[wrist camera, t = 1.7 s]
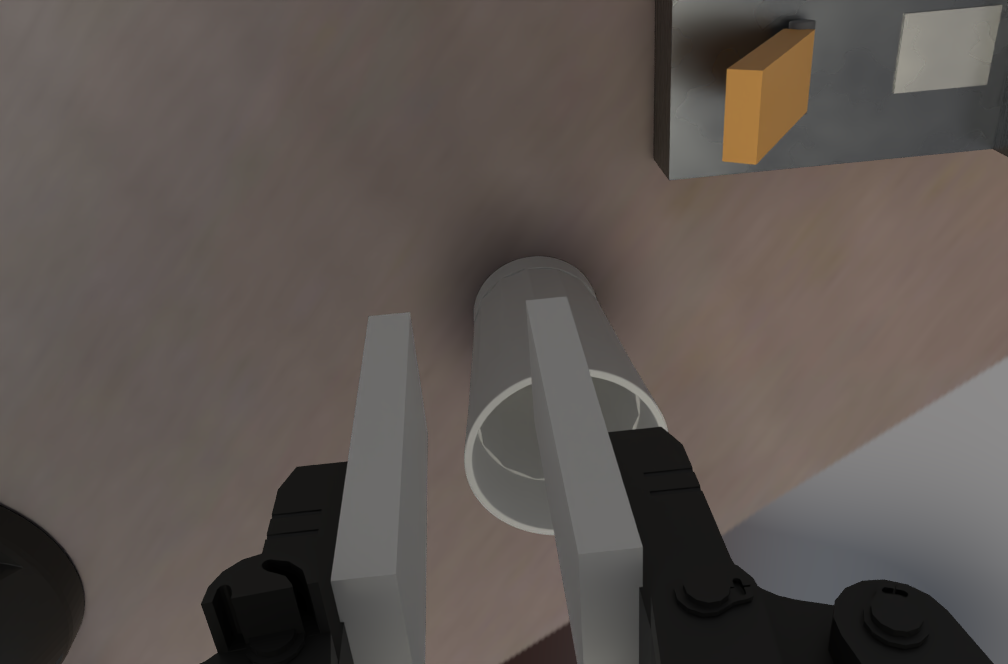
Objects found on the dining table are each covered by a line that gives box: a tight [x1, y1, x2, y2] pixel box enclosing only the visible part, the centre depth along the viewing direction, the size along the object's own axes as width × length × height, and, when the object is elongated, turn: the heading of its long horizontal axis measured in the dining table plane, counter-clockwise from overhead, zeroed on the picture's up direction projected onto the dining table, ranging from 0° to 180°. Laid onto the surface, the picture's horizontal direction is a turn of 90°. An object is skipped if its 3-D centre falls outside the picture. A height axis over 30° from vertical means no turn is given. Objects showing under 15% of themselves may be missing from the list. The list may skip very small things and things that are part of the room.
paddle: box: [722, 19, 816, 165], centre depth 32 cm, size 1×4×8 cm
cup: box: [464, 256, 668, 535], centre depth 38 cm, size 8×8×12 cm
